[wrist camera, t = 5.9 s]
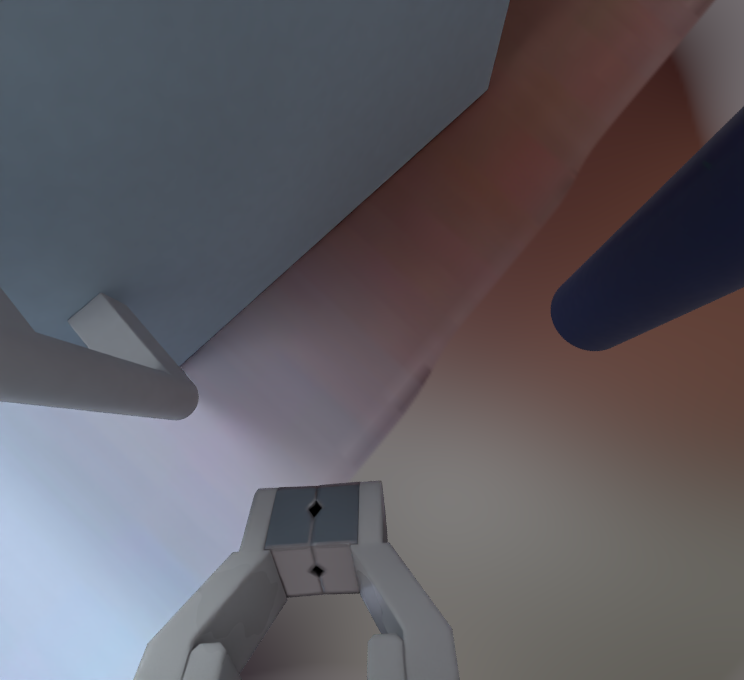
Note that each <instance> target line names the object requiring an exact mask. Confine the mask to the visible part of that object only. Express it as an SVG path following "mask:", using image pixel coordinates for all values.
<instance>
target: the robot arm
mask: <svg viewBox="0 0 744 680" xmlns="http://www.w3.org/2000/svg"><path fill="white" fill-rule="evenodd" d="M353 593H354V594H355V593H360V595H361V597H362V599H363V601H364V603H365V605H366V606H367V608H368V610H369V612H370V614H371V616H372V618H373V619H374V621H375V623H376V625H377V627H378V628H379V630H380V632H381V634H375V635H373V636H372V638H371V639H370V640H369V641H368V660H367V680H460V678H459V672H458V665H457V658H456V651H455V645H454V638H453V631H452V628H451V627H450V625H449V624H448V622H447V621H446V620H445V618H444V617H443V616H442V614H441V613H440V611H439V610H438V609H437V607H436V606H435V605H434V603H433V602H432V601H431V599H430V598H429V596H428V595H427V594H426V592H425V591H424V590H423V588H422V587H421V585H420V584H419V583H418V581H417V580H416V578H415V577H414V576H413V575H412V573H411V572H410V571H409V569H408V568H407V566H406V565H405V563H404V562H403V561H402V559H401V558H400V557H399V555H398V554H397V553H396V551H395V550H394V548H393V547H392V546H391V545H390V543H388V542H387V526H386V515H385V506H384V497H383V488H382V482H381V481H369V482H351V483H339V484H326V485H319V486H302V487H279V488H262V489H258V490H257V492H256V493H255V495H254V498H253V502H252V506H251V509H250V513H249V517H248V520H247V524H246V528H245V531H244V535H243V539H242V542H241V546H240V550H239V552H233V553H232V554H231V555H230V556H229V557H228V558H227V559H226V560H225V561H224V562H223V563H222V564H221V565H220V566H219V568H218V569H217V570H216V571H215V572H214V573H213V574H212V575H211V576H210V577H209V578H208V579H207V580H206V582H205V583H204V584H203V585H202V586H201V587H200V588H199V589H198V590H197V591H196V592H195V593H194V594H193V595H192V597H191V598H190V599H189V600H188V601H187V602H186V603H185V604H184V605H183V606H182V607H181V608H180V609H179V611H178V612H177V613H176V614H175V615H174V616H173V617H172V618H171V619H170V620H169V621H168V622H167V623H166V624H165V626H164V627H163V628H162V629H161V630H160V631H159V632H158V633H157V634H156V635H155V636H154V637H153V638H152V640H151V641H150V642H149V643H148V644H147V646H146V649H145V651H144V654H143V656H142V659H141V662H140V664H139V667H138V669H137V672H136V674H135V677H134V680H242V679H241V677H240V675H239V674H240V673H241V671H242V670H243V668H244V666H245V665H246V663H247V662H248V660H249V659H250V657H251V656H252V654H253V653H254V651H255V649H256V648H257V646H258V645H259V643H260V642H261V640H262V639H263V637H264V635H265V634H266V632H267V631H268V629H269V628H270V626H271V625H272V623H273V622H274V620H275V619H276V617H277V615H278V614H279V612H280V611H281V609H282V608H283V606H284V605H285V603H286V601H287V598H288V597H299V596H311V595H323V594H353Z"/></svg>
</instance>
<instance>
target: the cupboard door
mask: <svg viewBox="0 0 744 680" xmlns="http://www.w3.org/2000/svg"><path fill="white" fill-rule="evenodd" d="M509 2H510V0H0V401H2V402H11V403H20V404H29V405H39V406H48V407H57V408H66V409H75V410H85V411H94V412H103V413H112V414H122V415H131V416H140V417H149V418H158V419H168V420H181V419H184V418H186V417H188V416H189V415H190V414H191V413H192V412H193V411H194V410H195V408H196V406H197V404H198V399H199V394H198V390H197V388H196V386H195V385H194V383H193V382H192V381H191V380H190V379H189V378H188V377H187V375H186V374H185V373H184V372H183V371H182V370H181V368H180V367H179V366H180V365H181V364H183V363H184V362H185V361H186V360H187V359H188V358H189V357H190V356H191V355H193V354H194V353H195V352H196V351H197V350H198V349H199V348H200V347H201V346H203V345H204V344H205V343H206V342H207V341H208V340H209V339H210V338H212V337H213V336H214V335H215V334H216V333H217V332H218V331H219V330H220V329H222V328H223V327H224V326H225V325H226V324H227V323H228V322H229V321H230V320H232V319H233V318H234V317H235V316H236V315H237V314H238V313H239V312H240V311H242V310H243V309H244V308H245V307H246V306H247V305H248V304H249V303H250V302H252V301H253V300H254V299H255V298H256V297H257V296H258V295H259V294H261V293H262V292H263V291H264V290H265V289H266V288H267V287H268V286H269V285H271V284H272V283H273V282H274V281H275V280H276V279H277V278H278V277H279V276H281V275H282V274H283V273H284V272H285V271H286V270H287V269H288V268H289V267H291V266H292V265H293V264H294V263H295V262H296V261H297V260H298V259H299V258H301V257H302V256H303V255H304V254H305V253H306V252H307V251H308V250H310V249H311V248H312V247H313V246H314V245H315V244H316V243H317V242H318V241H320V240H321V239H322V238H323V237H324V236H325V235H326V234H327V233H328V232H330V231H331V230H332V229H333V228H334V227H335V226H336V225H337V224H338V223H340V222H341V221H342V220H343V219H344V218H345V217H346V216H347V215H349V214H350V213H351V212H352V211H353V210H354V209H355V208H356V207H357V206H359V205H360V204H361V203H362V202H363V201H364V200H365V199H366V198H367V197H369V196H370V195H371V194H372V193H373V192H374V191H375V190H376V189H377V188H379V187H380V186H381V185H382V184H383V183H384V182H385V181H386V180H387V179H389V178H390V177H391V176H392V175H393V174H394V173H395V172H396V171H398V170H399V169H400V168H401V167H402V166H403V165H404V164H405V163H406V162H408V161H409V160H410V159H411V158H412V157H413V156H414V155H415V154H416V153H418V152H419V151H420V150H421V149H422V148H423V147H424V146H425V145H426V144H428V143H429V142H430V141H431V140H432V139H433V138H434V137H435V136H436V135H438V134H439V133H440V132H441V131H442V130H443V129H444V128H445V127H447V126H448V125H449V124H450V123H451V122H452V121H453V120H454V119H455V118H457V117H458V116H459V115H460V114H461V113H462V112H463V111H464V110H465V109H467V108H468V107H469V106H470V105H471V104H472V103H473V102H474V101H475V100H477V99H478V98H479V97H480V96H481V95H482V94H483V93H484V92H485V91H487V90H488V86H489V82H490V78H491V74H492V70H493V66H494V62H495V58H496V54H497V50H498V46H499V42H500V38H501V34H502V30H503V26H504V22H505V18H506V14H507V10H508V6H509Z"/></svg>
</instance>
